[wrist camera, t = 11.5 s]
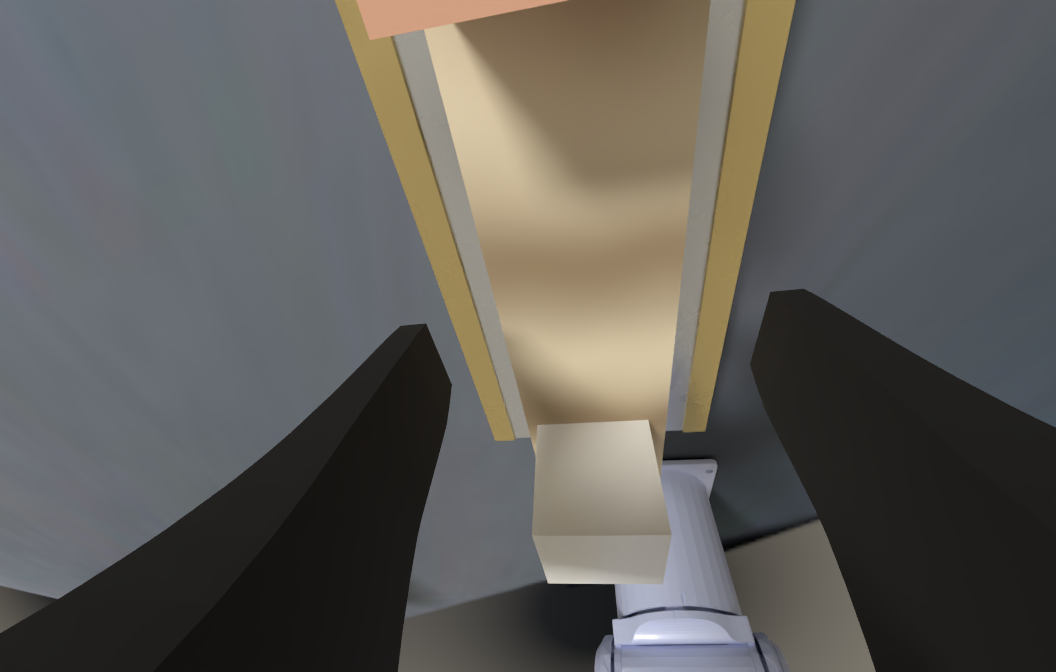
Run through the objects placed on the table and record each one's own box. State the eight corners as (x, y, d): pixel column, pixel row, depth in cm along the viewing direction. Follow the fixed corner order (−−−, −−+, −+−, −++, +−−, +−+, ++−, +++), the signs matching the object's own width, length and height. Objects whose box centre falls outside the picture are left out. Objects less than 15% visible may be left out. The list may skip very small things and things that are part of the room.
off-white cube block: (644, 478, 17) (662, 584, 14) (550, 480, 18) (548, 583, 15) (648, 419, 14) (671, 535, 11) (537, 424, 15) (532, 536, 12)
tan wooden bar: (641, 398, 21) (659, 487, 18) (546, 403, 22) (544, 490, 18) (672, -424, 7) (802, -879, 3) (401, -331, 8) (253, -620, 4)
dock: (695, 401, 24) (705, 431, 23) (499, 412, 26) (495, 441, 24) (898, -796, 6) (1021, -1075, 4) (203, -492, 8) (112, -612, 6)
